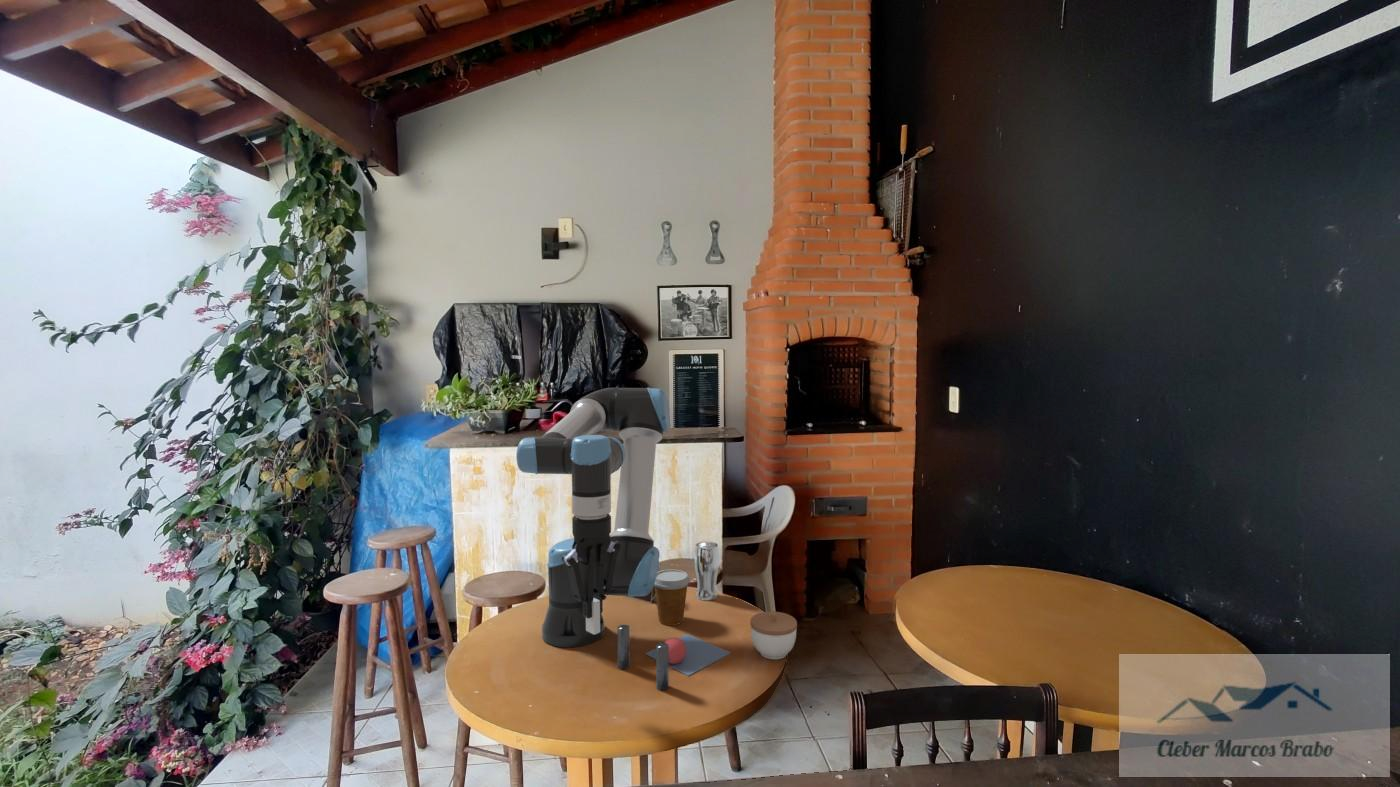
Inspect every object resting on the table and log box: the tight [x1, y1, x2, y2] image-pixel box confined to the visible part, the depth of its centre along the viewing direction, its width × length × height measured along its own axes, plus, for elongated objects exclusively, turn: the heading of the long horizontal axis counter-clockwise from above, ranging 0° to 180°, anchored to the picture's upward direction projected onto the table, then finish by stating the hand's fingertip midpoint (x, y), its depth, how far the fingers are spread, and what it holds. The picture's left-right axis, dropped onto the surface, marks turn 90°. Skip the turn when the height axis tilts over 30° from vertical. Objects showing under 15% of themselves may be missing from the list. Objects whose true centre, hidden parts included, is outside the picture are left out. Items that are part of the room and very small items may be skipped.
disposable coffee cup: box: [654, 568, 690, 626], centre depth 164 cm, size 10×10×12 cm
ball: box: [664, 637, 686, 664], centre depth 143 cm, size 6×6×6 cm
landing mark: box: [645, 633, 732, 677], centre depth 147 cm, size 14×14×1 cm
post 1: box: [617, 624, 630, 671], centre depth 140 cm, size 3×3×9 cm
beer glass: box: [694, 540, 720, 602], centre depth 180 cm, size 7×7×15 cm
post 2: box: [655, 642, 670, 692], centre depth 132 cm, size 3×3×9 cm
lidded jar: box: [750, 611, 798, 660], centre depth 147 cm, size 11×11×9 cm
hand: (593, 631), depth 126 cm, fingers closed
